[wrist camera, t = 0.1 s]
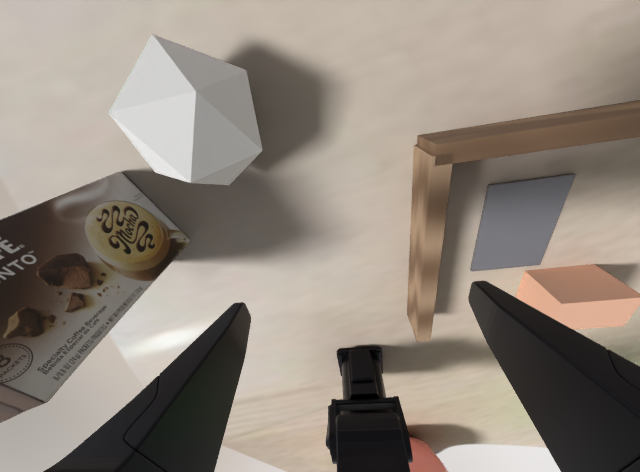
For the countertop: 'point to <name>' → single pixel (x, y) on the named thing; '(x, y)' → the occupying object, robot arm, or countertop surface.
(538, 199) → the mat
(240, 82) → the die
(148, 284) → the coffee box
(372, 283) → the countertop surface
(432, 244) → the wooden corner wall
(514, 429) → the countertop surface
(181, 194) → the countertop surface
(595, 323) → the block
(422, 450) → the cell model
